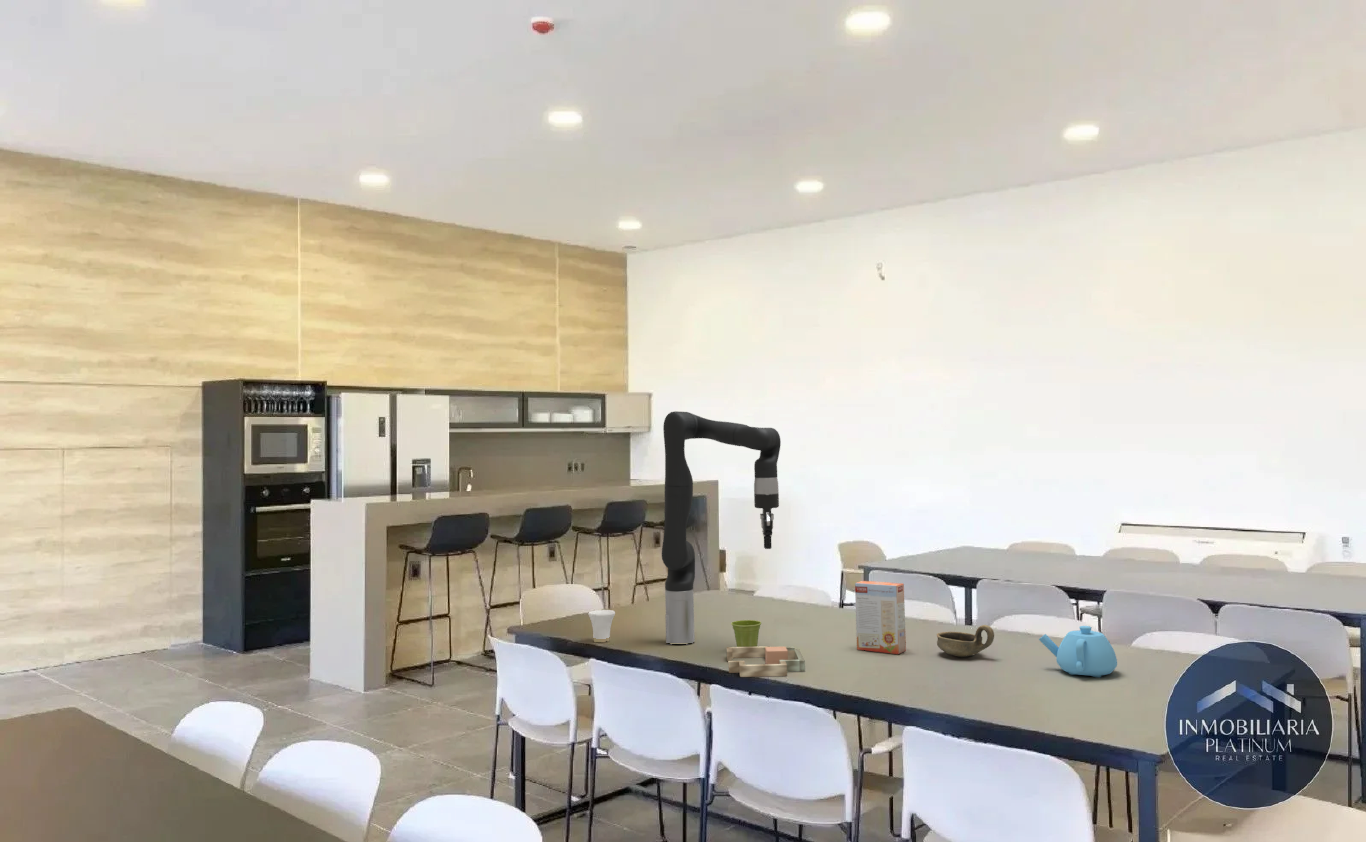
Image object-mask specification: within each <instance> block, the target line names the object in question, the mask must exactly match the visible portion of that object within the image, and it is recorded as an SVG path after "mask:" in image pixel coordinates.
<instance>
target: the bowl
mask: <svg viewBox="0 0 1366 842" xmlns="http://www.w3.org/2000/svg"><path fill="white" fill-rule="evenodd" d="M983 631H984V632H985V633H986V635H987V638H986V641H985V643H983V637H982V633H983ZM936 637H937V641H936V644H937V647H938V648H939V649H940V650H941V651H942V652H944V653H945V654H948V655H950V656H955V657H960V658H965V657H970V656H974V655H977V654H978V653H981V652H982V651H983V650H986V649H987V648H989V647H990V646H991V645H992V644H993V642H994V640H995V632H994V630H993V628H992V627H991V626H990V625H986V624H982V625H980V626H979V627H977V629H976V631H975V634H973V633H968V632H963V631H942V632H938V633H936Z"/></svg>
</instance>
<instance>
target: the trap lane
mask: <svg viewBox="0 0 1366 842" xmlns="http://www.w3.org/2000/svg"><path fill="white" fill-rule="evenodd" d="M765 647H771V646H765V645H762V646H760V645H759V646H758V645H757V646H756V647H737V646H726V661H728V662H727V663H728V673H729V674H733V673H734V674H735V673H737V674H738V673H739V677H740V678H750V677H751V678H753V677H756V678H757V677H758V678H759V677H787V676H788V673H790V672H806V661H805V657H804V656H803V653H802V652H801V650H800V649H799V648H797V649H796V648H795V646H785V647H786V649H787V651H788V660H780V664H762V663H761V664H755V663H754V664H746V663H745V660H733V659H742V658H743V659H746V658H748V659H751V658H752V659H753V658H754V659H755V658H758V659H759V658H765Z"/></svg>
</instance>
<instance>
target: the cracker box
mask: <svg viewBox="0 0 1366 842" xmlns="http://www.w3.org/2000/svg"><path fill="white" fill-rule="evenodd" d="M904 585H905V584H904V583H903V582H900V583H899V582H888V581H873V580H871V581H870V580H861V581H857V582H855V583H854V591H855V592H854V593H855V595H854V596H855V625H856V626H855V630H856V633H855V634H856V635H855V636H856V650H858V651H864V650H865V651H867V652H874V653H875V652H876V653H883V654H889V655H890V654H892V655H899V654H902V653H904V652H906V651H907V647H906V646H907V643H906V640H907V639H906V638H907V635H906V613H905V612H906V610H905V609H906V608H905V606H906V605H905V586H904Z"/></svg>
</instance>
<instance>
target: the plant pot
mask: <svg viewBox="0 0 1366 842" xmlns="http://www.w3.org/2000/svg"><path fill="white" fill-rule="evenodd" d="M730 624H731V626H732V629H733V632H734V638H735V642H736V643H735V645H736V647H756V646H758V642H759V634H760V633H759V631H760V629H761V625H762V621H759V620H755V619H752V620H751V619H742V620H736V621H731V623H730Z"/></svg>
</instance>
